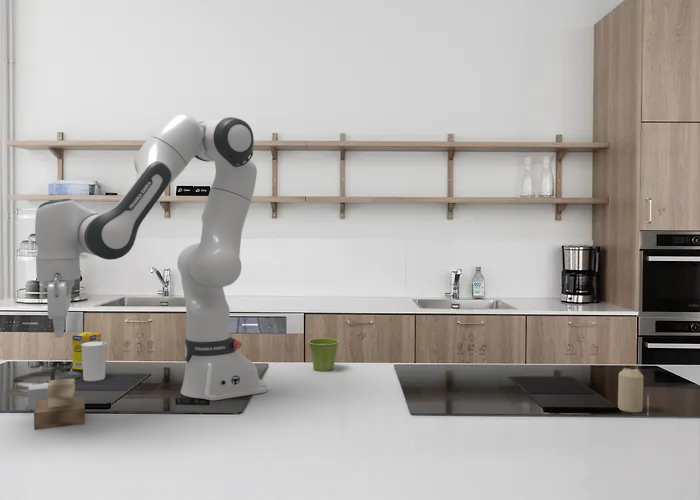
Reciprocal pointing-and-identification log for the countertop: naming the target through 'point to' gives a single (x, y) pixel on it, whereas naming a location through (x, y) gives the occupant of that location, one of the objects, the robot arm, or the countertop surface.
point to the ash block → (61, 393)
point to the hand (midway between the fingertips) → (60, 333)
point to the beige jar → (630, 390)
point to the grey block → (37, 394)
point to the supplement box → (77, 348)
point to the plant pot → (323, 353)
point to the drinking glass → (93, 360)
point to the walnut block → (59, 414)
